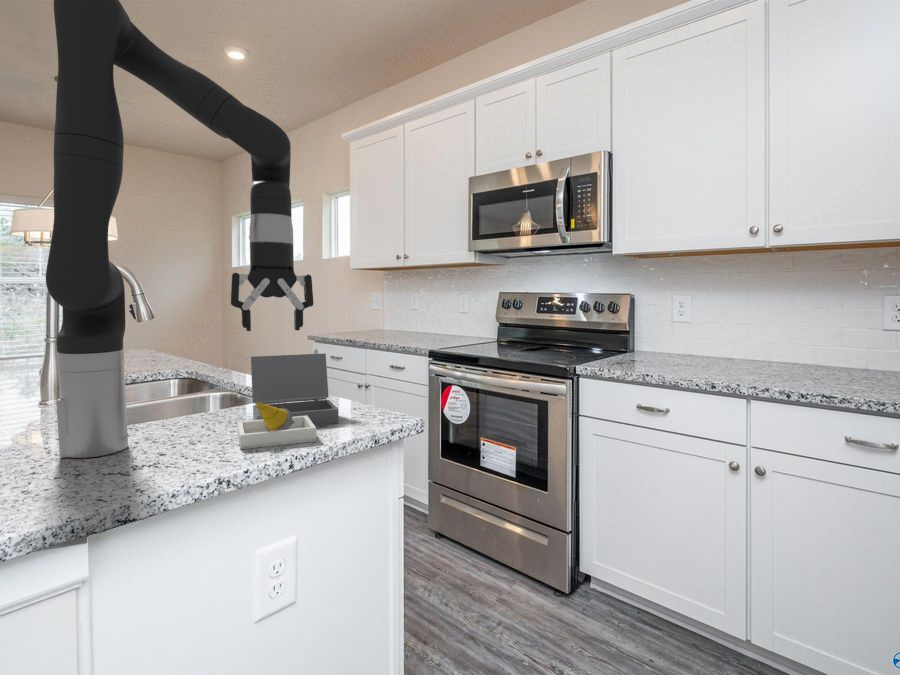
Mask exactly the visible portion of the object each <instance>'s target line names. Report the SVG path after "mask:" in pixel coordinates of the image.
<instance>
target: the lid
mask: <svg viewBox="0 0 900 675" xmlns="http://www.w3.org/2000/svg"><path fill="white" fill-rule="evenodd" d="M250 369H251V370H250V371H251V372H250V374H251V394H252V397H251V398H252V404H254V405H256V403H255V402H259V403H262V404H278V403H291V402H303V401H314V400H328V398H329V384H328V383H329V382H328V367H327V354H326V352H325V353H318V354H313V353H309V354H306V353H305V354H303V353H302V354H282V355H281V354H280V355H262V356H261V355H260V356H259V355H257V356H250Z"/></svg>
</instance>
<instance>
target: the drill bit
mask: <svg viewBox="0 0 900 675" xmlns="http://www.w3.org/2000/svg"><path fill="white" fill-rule="evenodd" d="M255 403H256V405H257V407H258V409H259V412H260V414H261V416H262V418H263V420H264V422H265V424H266V430H267V431H278V430H288V429H289V427H290V426H291V425H292V424H293V423H294V422H295V421H293V420H292V413H291V412H290V411H289V410H288V409H286V408H281V409H280V408H276V407H273V406H269V405H266V404H262V403H259V402H255ZM255 403H254V404H255Z"/></svg>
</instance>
